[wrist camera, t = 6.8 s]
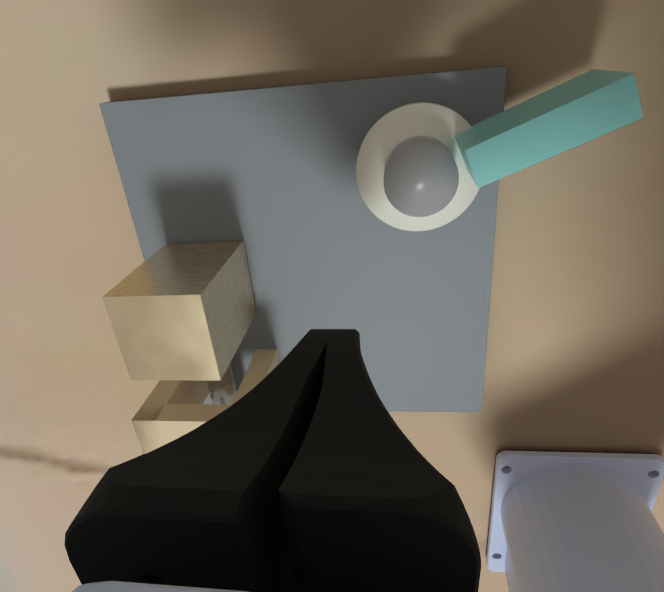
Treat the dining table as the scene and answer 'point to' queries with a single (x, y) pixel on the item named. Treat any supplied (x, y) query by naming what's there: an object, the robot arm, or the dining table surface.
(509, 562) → the robot arm
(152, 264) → the beige rectangular block
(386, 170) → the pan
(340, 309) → the grey dial panel
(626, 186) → the dining table surface
